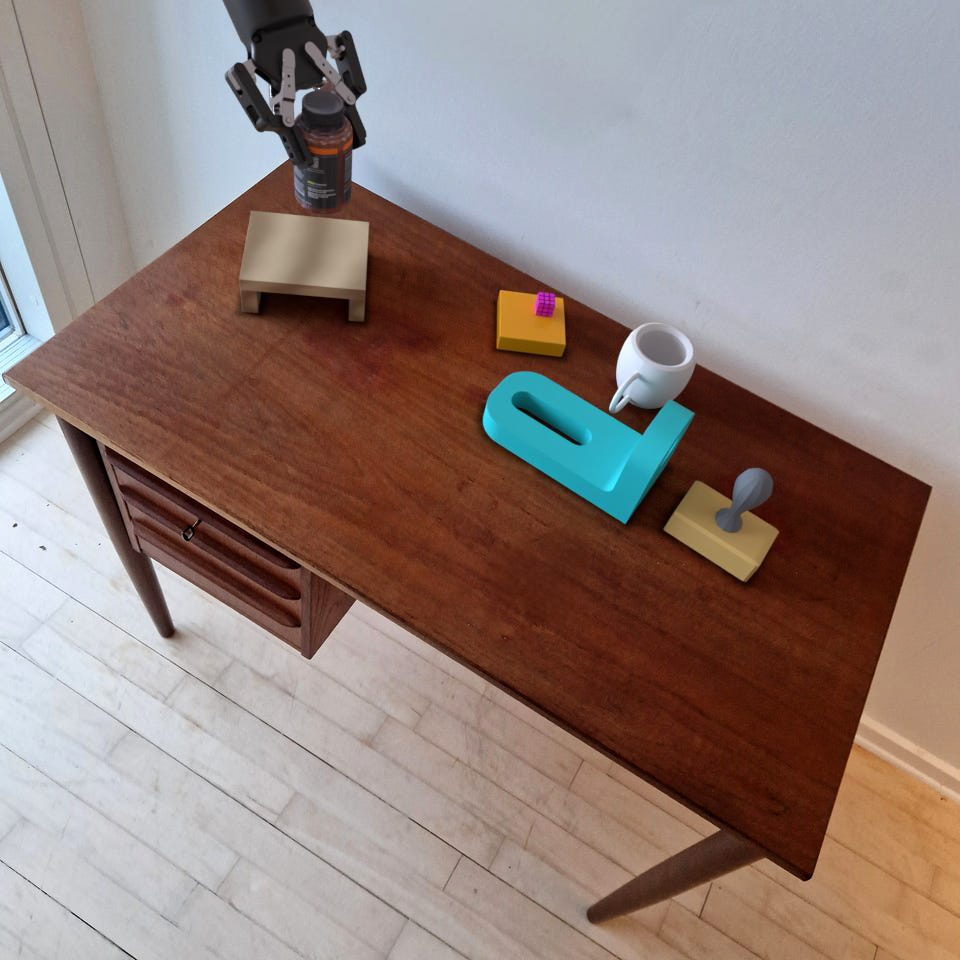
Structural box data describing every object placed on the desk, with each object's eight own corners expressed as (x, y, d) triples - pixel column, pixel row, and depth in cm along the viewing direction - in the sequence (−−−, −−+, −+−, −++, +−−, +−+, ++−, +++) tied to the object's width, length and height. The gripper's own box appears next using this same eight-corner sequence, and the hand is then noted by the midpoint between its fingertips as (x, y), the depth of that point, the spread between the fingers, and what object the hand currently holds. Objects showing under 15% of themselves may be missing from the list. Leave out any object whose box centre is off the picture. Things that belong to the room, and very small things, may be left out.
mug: (635, 354, 104) (656, 307, 97) (690, 394, 101) (715, 349, 95) (575, 401, 98) (593, 355, 91) (632, 446, 95) (654, 401, 89)
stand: (242, 312, 98) (238, 279, 94) (253, 243, 104) (251, 210, 100) (363, 321, 100) (365, 290, 96) (367, 254, 106) (369, 222, 102)
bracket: (664, 468, 94) (702, 400, 84) (625, 524, 89) (662, 458, 79) (515, 378, 98) (536, 304, 89) (470, 426, 93) (487, 352, 84)
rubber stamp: (766, 547, 90) (819, 484, 80) (744, 584, 87) (797, 523, 77) (685, 496, 92) (728, 429, 82) (661, 531, 89) (703, 465, 79)
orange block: (561, 357, 101) (570, 332, 98) (496, 349, 100) (502, 323, 97) (559, 311, 106) (567, 285, 102) (497, 302, 105) (503, 276, 102)
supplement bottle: (345, 180, 92) (348, 83, 83) (355, 216, 89) (360, 118, 80) (290, 182, 91) (287, 83, 82) (299, 218, 88) (297, 119, 79)
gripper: (202, -22, 72) (290, 171, 78) (336, -54, 79) (407, 125, 85) (176, 11, 78) (259, 189, 84) (302, -21, 85) (371, 144, 91)
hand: (333, 156), depth 84 cm, fingers closed on supplement bottle, 6 cm apart
